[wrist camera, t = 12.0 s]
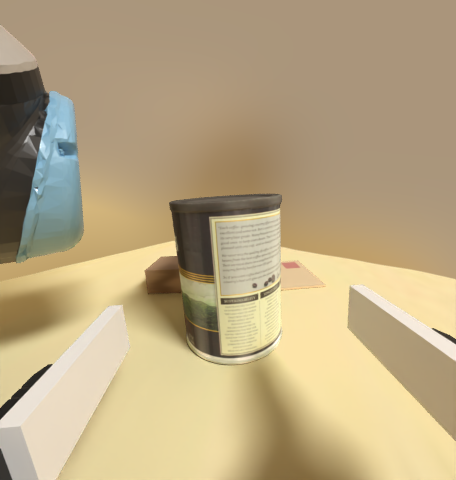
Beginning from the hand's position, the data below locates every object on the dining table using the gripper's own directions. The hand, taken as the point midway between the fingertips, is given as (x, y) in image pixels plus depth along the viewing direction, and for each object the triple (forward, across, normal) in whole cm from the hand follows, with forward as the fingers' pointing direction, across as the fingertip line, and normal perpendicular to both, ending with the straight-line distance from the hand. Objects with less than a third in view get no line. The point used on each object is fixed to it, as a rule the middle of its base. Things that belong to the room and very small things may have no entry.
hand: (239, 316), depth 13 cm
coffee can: (+10, 0, +8) cm, 13 cm away
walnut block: (+24, +9, +8) cm, 26 cm away
